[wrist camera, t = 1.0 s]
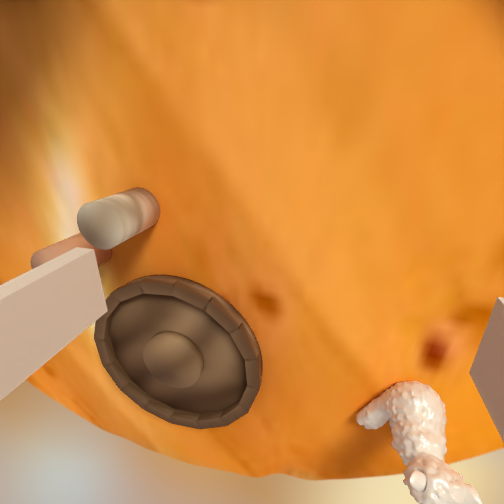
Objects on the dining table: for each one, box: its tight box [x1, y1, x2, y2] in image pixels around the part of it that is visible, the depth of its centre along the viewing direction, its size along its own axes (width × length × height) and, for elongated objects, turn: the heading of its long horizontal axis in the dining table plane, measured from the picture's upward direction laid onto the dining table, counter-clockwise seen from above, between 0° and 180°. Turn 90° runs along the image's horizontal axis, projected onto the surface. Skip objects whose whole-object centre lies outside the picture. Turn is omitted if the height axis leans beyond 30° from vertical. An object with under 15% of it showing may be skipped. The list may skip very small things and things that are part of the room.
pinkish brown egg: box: [31, 233, 112, 269], centre depth 36 cm, size 5×5×7 cm
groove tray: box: [94, 275, 262, 429], centre depth 41 cm, size 23×23×2 cm
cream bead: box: [77, 188, 160, 250], centre depth 32 cm, size 5×5×7 cm
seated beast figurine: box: [356, 380, 483, 504], centre depth 30 cm, size 10×9×12 cm
